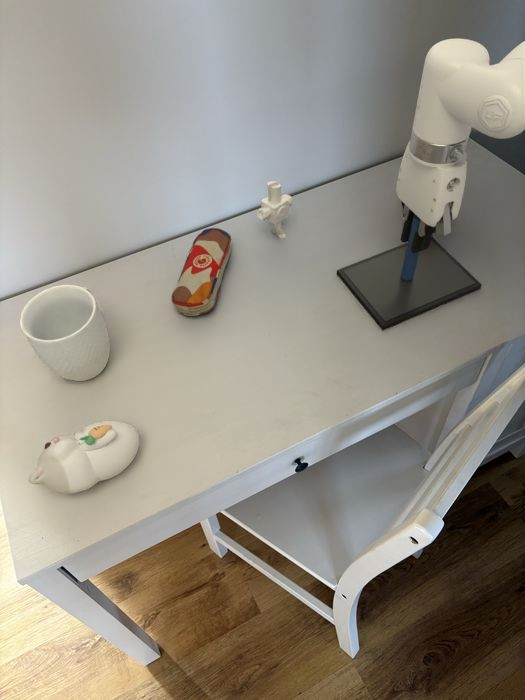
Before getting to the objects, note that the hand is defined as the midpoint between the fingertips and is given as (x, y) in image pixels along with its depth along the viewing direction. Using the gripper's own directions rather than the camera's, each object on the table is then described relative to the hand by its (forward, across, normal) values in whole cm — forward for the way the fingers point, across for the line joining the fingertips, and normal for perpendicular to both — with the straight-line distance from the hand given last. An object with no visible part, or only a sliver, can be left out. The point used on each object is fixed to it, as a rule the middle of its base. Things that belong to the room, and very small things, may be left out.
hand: (414, 243), depth 88 cm
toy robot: (+9, +22, +15) cm, 28 cm away
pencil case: (+9, +18, +31) cm, 37 cm away
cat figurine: (+9, -10, +59) cm, 61 cm away
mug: (+9, +10, +55) cm, 57 cm away
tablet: (+9, 0, 0) cm, 9 cm away
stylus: (+8, 0, 0) cm, 8 cm away
